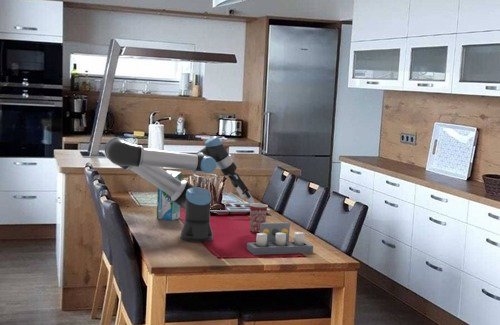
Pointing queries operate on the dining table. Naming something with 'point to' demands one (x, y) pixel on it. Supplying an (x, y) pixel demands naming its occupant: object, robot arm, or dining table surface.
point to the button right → (299, 238)
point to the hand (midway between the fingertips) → (248, 199)
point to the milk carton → (168, 202)
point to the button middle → (280, 239)
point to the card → (275, 230)
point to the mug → (257, 216)
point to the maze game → (235, 208)
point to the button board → (280, 248)
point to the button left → (261, 240)
